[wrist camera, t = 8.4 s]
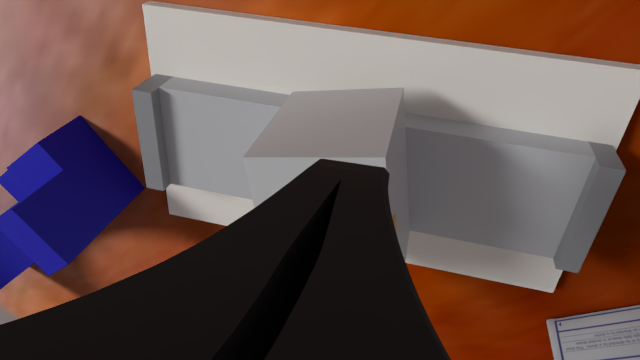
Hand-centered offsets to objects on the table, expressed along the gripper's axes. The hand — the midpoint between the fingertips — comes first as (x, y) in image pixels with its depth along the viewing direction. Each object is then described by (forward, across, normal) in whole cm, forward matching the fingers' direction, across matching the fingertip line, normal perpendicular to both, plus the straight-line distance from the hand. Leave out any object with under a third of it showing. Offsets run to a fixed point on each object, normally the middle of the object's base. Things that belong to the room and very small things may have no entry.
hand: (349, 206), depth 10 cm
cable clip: (+10, +18, +10) cm, 23 cm away
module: (+8, +1, +4) cm, 9 cm away
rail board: (+10, +1, +4) cm, 11 cm away
